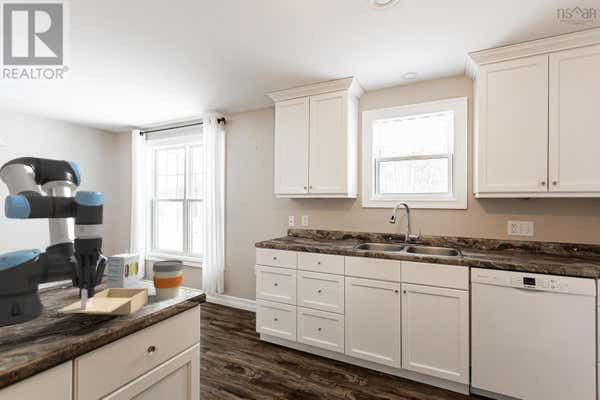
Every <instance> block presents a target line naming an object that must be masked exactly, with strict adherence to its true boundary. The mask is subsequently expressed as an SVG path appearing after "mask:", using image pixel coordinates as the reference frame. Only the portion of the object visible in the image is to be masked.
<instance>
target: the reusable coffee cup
mask: <svg viewBox="0 0 600 400" xmlns="http://www.w3.org/2000/svg"><path fill="white" fill-rule="evenodd" d="M152 264H153V265H152V272H153V275H152V282H153V287H154V291H155V298H156V299H157V300H163V301H164V300H165V301H168V300H171V299H176V298H177V297H179V292H180V288H181V287H180V286H181V285H182V280H183V270H184V261H183V260H179V259H178V260H177V259H167V260H160V261H156V262H154V263H152Z"/></svg>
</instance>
